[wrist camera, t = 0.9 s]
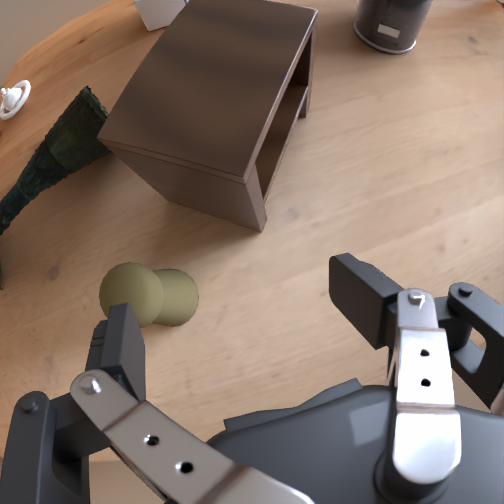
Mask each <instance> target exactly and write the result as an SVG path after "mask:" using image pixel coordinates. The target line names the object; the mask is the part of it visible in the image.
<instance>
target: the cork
mask: <svg viewBox="0 0 504 504" xmlns="http://www.w3.org/2000/svg"><path fill="white" fill-rule="evenodd" d="M198 298H199V296H198V291H197V287H196V285H195V283H194V281H193V280H192V279H191V278H190V277H189V276H188V275H187V274H186V273H184V272H182V271H180V270H176V269H163V270H152V271H151V270H150V269H149V268H147V267H145V266H143V265H141V264H138V263H131V262H127V263H123V264H120V265H117V266H115V267H114V268H112V269H111V270H109V272H108V273H107V274H106V275H105V277H104V278H103V281H102V283H101V286H100V292H99V299H100V305H101V308H102V310H103V312H104V314H105V316H106V317H107V318H108V315H109V310H110V306H111V305H116V304H121V303H126V302H129V303H130V304H131V306H132V309H133V312H134V314H135V317H136V320H137V323H138V326H139V328H144V327H145V326H147V325H149V324H151V323H153V324H159V325H165V326H172V327H173V326H179V325H182V324H184V323H185V322H187V321H189V319H190V318H191V317H192V316H193V315H194V313H195V311H196V309H197V306H198Z"/></svg>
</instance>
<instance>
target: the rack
mask: <svg viewBox="0 0 504 504" xmlns="http://www.w3.org/2000/svg"><path fill="white" fill-rule="evenodd" d="M317 14H318V10H315V9H311V8H306V7H301V6H296V5H291V4H285V3H280V2H273V1H267V0H189V2H188V3H187V4H186V5H185V6H184V7H183V9H182V10H181V11H180V12H179V13H178V15H177V16H176V17H175V18H174V20H173V21H172V22H171V23H170V25H169V26H168V27H167V29H166V30H165V31H164V32H163V34H162V35H161V36H160V38H159V39H158V40H157V42H156V43H155V45H154V46H153V47H152V49H151V50H150V51H149V53H148V54H147V56H146V57H145V59H144V60H143V61H142V63H141V64H140V66H139V67H138V69H137V70H136V72H135V73H134V75H133V76H132V78H131V80H130V81H129V83H128V84H127V86H126V87H125V89H124V91H123V92H122V94H121V95H120V97H119V99H118V100H117V102H116V104H115V106H114V107H113V109H112V111H111V112H110V114H109V116H108V118H107V119H106V121H105V123H104V125H103V127H102V129H101V130H100V132H99V134H98V136H97V139H98V140H99V141H100V142H102V143H103V144H104V145H105V146H106V147H107V148H108V149H109V150H111V151H112V152H113V153H114V154H115V155H116V156H117V157H119V158H120V159H121V160H122V161H123V162H124V163H125V164H126V165H128V166H129V167H130V168H131V169H132V170H133V171H134V172H136V173H137V174H138V175H139V176H140V177H141V178H142V179H144V180H145V181H146V182H147V183H148V184H149V185H150V186H152V187H153V188H154V189H155V190H156V191H157V192H159V193H160V194H161V195H162V196H163V197H164V198H165V199H167V200H168V201H170V202H173V203H176V204H179V205H182V206H185V207H188V208H191V209H194V210H197V211H200V212H203V213H206V214H209V215H212V216H215V217H217V218H220V219H223V220H226V221H229V222H232V223H235V224H238V225H240V226H243V227H246V228H249V229H252V230H255V231H258V232H260V233H262V231H263V229H264V226H265V223H266V221H267V216H266V211H265V207H264V204H265V201H266V199H267V196H268V193H269V191H270V188H271V186H272V183H273V181H274V178H275V175H276V173H277V170H278V168H279V165H280V162H281V160H282V157H283V155H284V152H285V149H286V147H287V144H288V142H289V139H290V137H291V134H292V131H293V129H294V126H295V124H296V121H297V119H298V116H302V117H306V115H307V112H308V109H309V105H310V95H311V85H312V75H313V64H314V53H315V41H316V29H317Z"/></svg>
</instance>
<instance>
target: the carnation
mask: <svg viewBox="0 0 504 504" xmlns="http://www.w3.org/2000/svg"><path fill="white" fill-rule="evenodd" d="M108 116H109V114H108V113H107V111H106V109H105V107H104V106H101V103H100V102H99V100H98V98H97V97H96V96H95V95H94V94H92V93H91V88H89V87H88V86H85V87H84V88H83V89H82V90H81V91H80V93H79V94H78V96H76V97H75V99H74V100H73V101H72V102H71V103H70V105H69V106H68V108H67V109H66V110H65V111H64V113H63V114H62V115H61V116H60V117H59V119H58V121H57V122H56V123H55V124H54V126H53V127H52V128H51V129H50V130H49V132H48V134H47V135H46V136H45V140H44V141H43V142H42V143H41V144H40V146H39V147H38V148H37V149H36V150H35V154H34V155H33V156H32V158H31V160H30V161H29V162H28V164H27V166H26V167H25V168H24V170H23V171H22V173H21V175H20V177H19V178H18V180H17V183H16V184H15V185H14V186H13V187H12V188H11V190H10V191H9V192H8V193H7V195H6V196H4V197H3V199H2V201H1V202H0V235H2V234H3V232H4V230H6V229H7V228H8V227H9V225H10V222H11V221H12V220H13V219H14V218H15V217H16V216H17V215H18V214H19V213H20V211H21V210H22V209H23V208H24V207H25V206H26V205H28V203H29V202H30V201H31V200H32V199H35V198H36V197H37V196H38V195H39V193H40V192H41V191H43V190H45V189H47V188H50V187H51V186H53V185H56V184H57V183H58V182H59V181H61V180H62V179H63V178H66V177H67V176H68V175H70V174H72V173H74V172H76V171H78V170H79V169H81V168H83V167H84V166H86V165H89V164H90V163H91V162H92V161H94V160H96V159H98V158H99V157H101V156H104V155H106V154H107V153H109V152H110V151H111V150H109V149H108V148H107V147H106V146H105V145H104V144H103V143H102V142H100V141H99V140H98V139H97V136H98V134H99V132H100V130H101V129H102V127H103V125H104V123H105V121H106V119H107V118H108ZM0 275H1V263H0ZM0 289H1V290H2V288H1V286H0Z"/></svg>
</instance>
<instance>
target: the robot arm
mask: <svg viewBox="0 0 504 504" xmlns="http://www.w3.org/2000/svg"><path fill="white" fill-rule="evenodd" d="M431 3H432V0H359V3H358V8H357V13H356V18H355V20H354V30H355V32H356V34H357V35H358V36H359V37H360V38H361V39H362V40H363V41H364V42H365V43H367V44H368V45H370V46H372V47H374V48H376V49H378V50H380V51H383V52H387V53H392V54H403V53H407V52H409V51H411V50H412V49H413V47H414V45H415V41H416V38H417V36H418V34H419V31H420V29H421V27H422V25H423V22H424V20H425V17H426V15H427V12H428V10H429V8H430V5H431ZM329 294H330V298H331V301H332V302H333V304H334V305H335V306H336V307H337V308H338V309H339V311H340V312H341V313H342V314H343V315H344V316H345V317H346V318H347V319H348V320H349V321H350V323H351V324H352V325H353V326H354V327H355V328H356V329H357V330H358V331H359V332H360V333H361V335H362V336H363V337H364V338H365V339H366V340H367V341H368V342H369V343H370V344H371V346H372V347H373V348H374V349H375V350H377V349H380V348H382V347H384V346H388V347H389V349H388V354H387V365H386V376H385V385H365V386H362V385H361V384H360V383H359V381H358V380H357V379H356V378H354V379H351V380H349V381H346V382H344V383H341V384H339V385H336V386H333V387H331V388H328V389H326V390H324V391H322V392H321V393H319V394H318V395H316V396H314V397H313V398H311V399H309V400H308V401H306V402H304V403H303V404H301V405H299V406H297V407H293V408H285V409H275V410H263V411H256V412H252V413H249V414H245V415H241V416H237V417H233V418H229V419H225V420H223V421H224V424H225V428H226V430H224V431H222V432H220V433H218V434H217V435H215V436H213V437H212V438H211V439H209V440H208V441H207V442H206V443H205V442H203V441H202V440H200V439H199V438H197V437H196V436H194V435H193V434H191V433H190V432H189V431H187V430H186V429H184V428H183V427H181V426H180V425H179V424H177V423H176V422H175V421H173V420H172V419H171V418H169V417H168V416H167V415H165V414H164V413H163V412H161V411H160V410H159V409H158V408H156V407H155V406H154V405H152V404H151V403H150V402H149V401H147V400H146V387H145V345H144V340H143V337H142V334H141V331H140V328H139V326H138V323H137V320H136V317H135V314H134V312H133V309H132V306H131V304H130V303H129V302H126V303H121V304H116V305H111V306H110V310H109V315H108V319H107V320H102V321H100V322H99V324H98V325H97V326H96V328H95V329H94V332H93V336H92V340H91V345H90V347H91V348H90V349H89V354H88V358H87V363H86V368H85V372H83V373H81V374H79V375H78V376H77V377H76V378H75V379H74V380H73V382H72V383H71V386H70V392H69V393H67V394H65V395H62V396H60V397H57V398H55V399H52V400H49V398H48V397H47V395H46V394H45V393H43V392H41V391H33V392H29V393H27V394H25V395H24V396H22V397H21V398H20V399H19V400H18V402H17V403H16V405H15V408H14V411H13V415H12V420H11V424H10V428H9V433H8V438H7V443H6V448H5V453H4V459H3V465H2V471H1V478H0V504H90V488H89V455H90V454H93V453H95V452H98V451H101V450H103V449H106V448H108V447H109V448H110V449H111V450H112V451H113V452H114V453H115V454H116V455H117V456H118V457H119V458H120V459H121V460H122V461H123V462H124V463H125V464H126V465H127V466H128V467H129V468H130V469H131V470H132V471H133V472H134V473H135V474H136V475H137V476H138V477H139V478H140V479H141V480H142V481H143V482H144V483H145V484H146V485H147V486H148V487H149V488H150V489H151V490H152V491H153V492H154V493H155V494H157V496H159V497H160V498H161V499H162V500H163V501H164V502H165V503H164V504H504V307H503V306H502V305H500V304H499V303H498V302H496V301H495V300H493V299H492V298H491V297H489V296H488V295H487V294H485V293H484V292H483V291H481V290H480V289H478V288H477V287H475V286H474V285H471V284H468V283H463V282H459V283H454V284H452V285H451V286H450V288H449V292H448V296H446V297H439V298H433V296H432V295H431V294H430V293H428V292H427V291H425V290H422V289H417V288H408V289H404V288H402V287H401V286H400V285H398V284H397V283H396V282H394V281H393V280H392V279H390V278H389V277H388V276H387V277H386V275H385V274H384V273H382V272H380V270H378V269H377V268H376V267H374V266H373V265H371V264H368V263H365V262H363V261H359V260H358V259H356V258H355V257H354V256H352V255H351V254H349V253H344V254H340V255H336V256H332V257H330V260H329ZM472 327H473V328H474V329H476V330H477V331H478V332H479V333H480V334H481V335H482V336H483V337H484V338H485V340H486V350H485V352H484V351H482V350H481V349H480V348H479V347H478V346H477V345H476V344H475V343H474V342H473V341H472V340H471V339H469V336H470V333H471V330H472ZM451 368H452V369H453V370H454V371H455V372H456V373H457V374H458V375H459V376H460V377H461V378H462V379H463V380H464V382H465V383H466V384H467V385H468V386H469V387H470V388H471V389H472V390H473V391H474V393H475V394H476V395H477V396H478V397H479V398H480V399H481V400H482V401H483V402H484V404H485V405H486V406H487V407H488V408H489V409H490V410H491V413H487V412H483V411H479V410H475V409H470V408H467V407H463V406H459V405H455V404H454V397H453V385H452V375H451Z"/></svg>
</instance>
